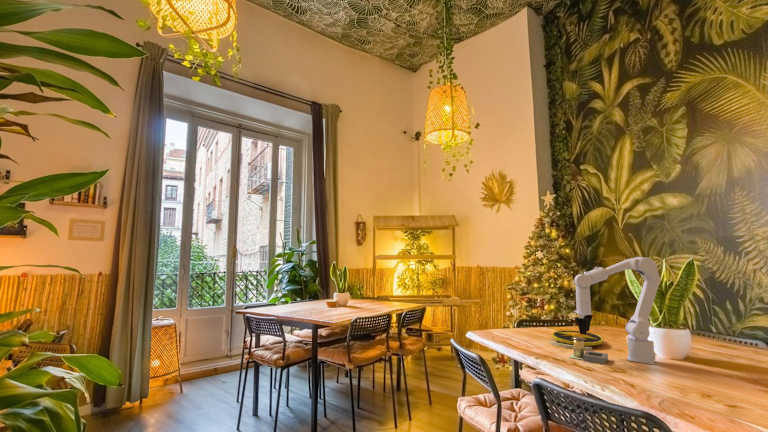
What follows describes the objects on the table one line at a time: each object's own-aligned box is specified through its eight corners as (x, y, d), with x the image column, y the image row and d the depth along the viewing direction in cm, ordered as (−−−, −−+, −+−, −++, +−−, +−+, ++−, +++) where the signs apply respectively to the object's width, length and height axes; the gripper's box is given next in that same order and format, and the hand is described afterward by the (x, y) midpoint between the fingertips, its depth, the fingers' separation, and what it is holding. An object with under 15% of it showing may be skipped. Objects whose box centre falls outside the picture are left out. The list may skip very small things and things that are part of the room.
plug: (585, 356, 168) (584, 337, 169) (583, 358, 165) (583, 339, 166) (574, 354, 171) (573, 336, 172) (572, 356, 168) (571, 338, 168)
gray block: (607, 359, 165) (607, 353, 166) (604, 364, 158) (604, 358, 158) (587, 356, 170) (586, 350, 170) (583, 361, 163) (582, 354, 163)
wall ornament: (609, 329, 198) (594, 343, 175) (609, 339, 198) (594, 355, 175) (562, 323, 213) (542, 335, 191) (562, 332, 213) (543, 346, 191)
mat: (585, 356, 170) (585, 355, 170) (582, 360, 164) (582, 359, 164) (572, 354, 173) (572, 353, 173) (569, 358, 167) (569, 357, 167)
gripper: (576, 299, 180) (577, 328, 179) (570, 302, 169) (571, 334, 167) (593, 300, 176) (595, 330, 175) (588, 304, 164) (589, 336, 163)
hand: (584, 332), depth 171 cm, fingers open, 7 cm apart
